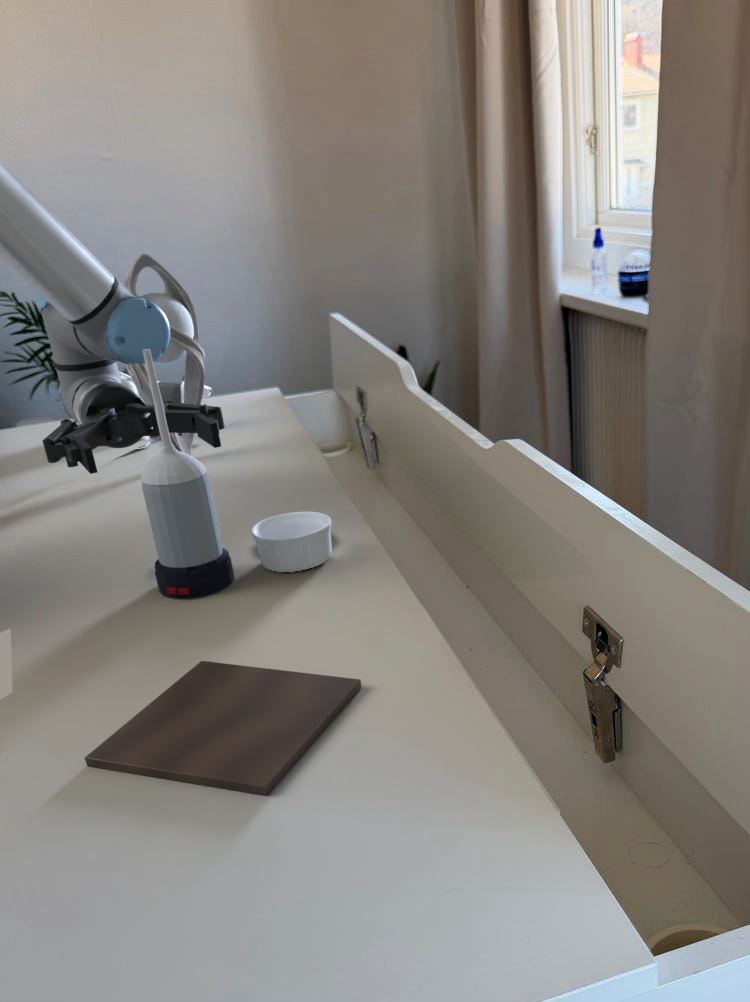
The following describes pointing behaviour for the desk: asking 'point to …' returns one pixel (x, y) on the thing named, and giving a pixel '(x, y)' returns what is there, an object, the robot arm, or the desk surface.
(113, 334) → the robot arm
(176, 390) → the dark grey angular block
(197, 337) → the sculpture
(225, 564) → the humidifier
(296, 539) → the ramekin
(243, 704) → the mat
